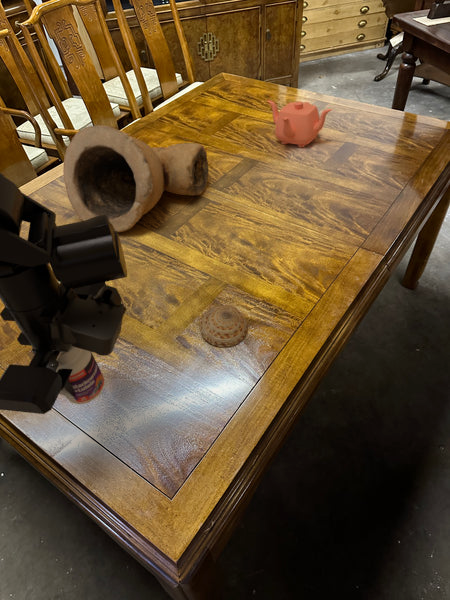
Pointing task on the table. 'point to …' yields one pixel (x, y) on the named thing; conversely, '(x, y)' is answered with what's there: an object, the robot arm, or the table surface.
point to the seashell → (223, 326)
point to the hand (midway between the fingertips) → (79, 377)
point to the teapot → (297, 122)
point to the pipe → (127, 174)
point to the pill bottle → (82, 374)
